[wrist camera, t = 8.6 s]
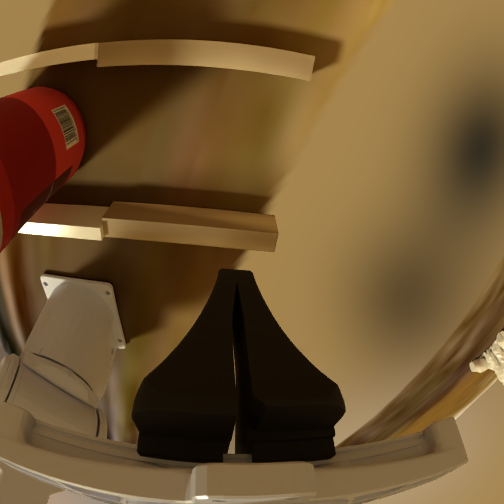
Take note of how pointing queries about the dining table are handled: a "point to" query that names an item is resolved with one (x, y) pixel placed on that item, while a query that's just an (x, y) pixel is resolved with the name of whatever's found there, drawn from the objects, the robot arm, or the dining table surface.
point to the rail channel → (192, 218)
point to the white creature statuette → (492, 359)
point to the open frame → (60, 215)
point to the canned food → (35, 153)
